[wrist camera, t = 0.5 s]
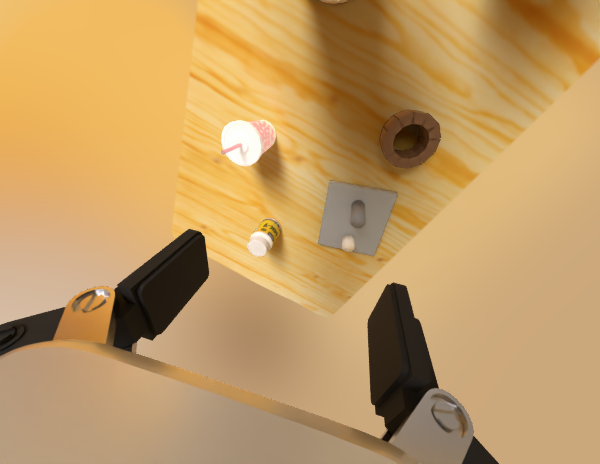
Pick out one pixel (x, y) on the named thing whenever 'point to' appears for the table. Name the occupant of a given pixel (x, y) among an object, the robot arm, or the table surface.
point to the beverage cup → (247, 140)
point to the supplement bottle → (264, 237)
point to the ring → (421, 148)
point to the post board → (343, 216)
